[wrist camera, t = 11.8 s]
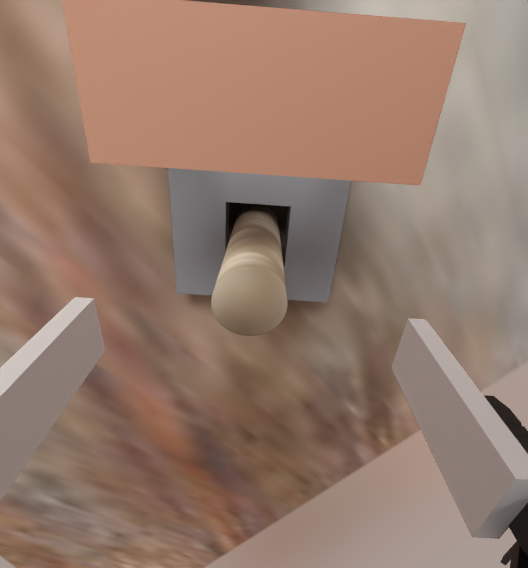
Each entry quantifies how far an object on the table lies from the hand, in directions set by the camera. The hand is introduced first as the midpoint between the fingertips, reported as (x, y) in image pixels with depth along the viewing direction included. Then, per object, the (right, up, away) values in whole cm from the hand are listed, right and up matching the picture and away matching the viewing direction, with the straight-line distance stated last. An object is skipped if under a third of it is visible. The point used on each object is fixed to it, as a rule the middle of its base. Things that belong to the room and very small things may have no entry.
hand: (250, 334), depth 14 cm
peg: (0, +7, +15) cm, 17 cm away
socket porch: (0, +10, +14) cm, 17 cm away
